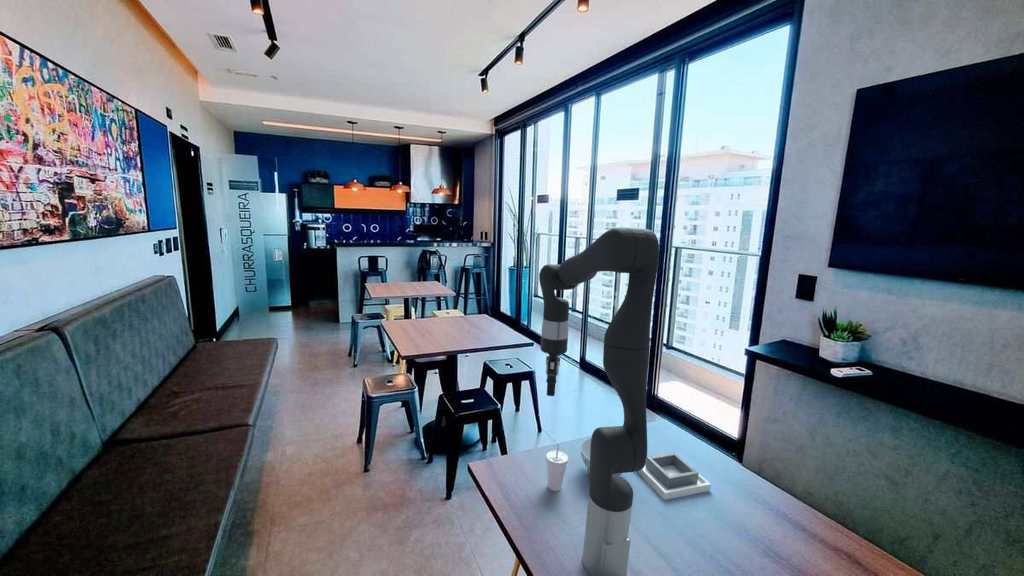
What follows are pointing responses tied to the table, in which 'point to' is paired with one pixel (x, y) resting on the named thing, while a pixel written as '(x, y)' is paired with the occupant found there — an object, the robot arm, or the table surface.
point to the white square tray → (673, 476)
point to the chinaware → (588, 453)
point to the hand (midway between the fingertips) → (551, 389)
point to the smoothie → (556, 468)
